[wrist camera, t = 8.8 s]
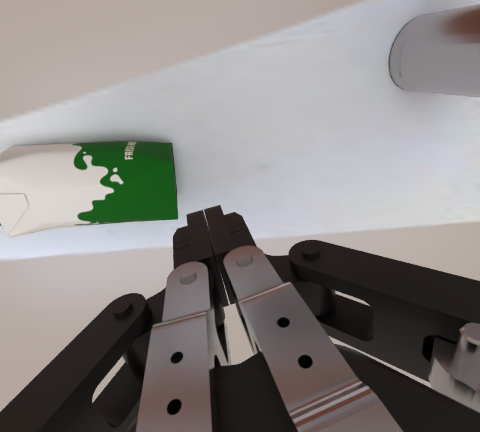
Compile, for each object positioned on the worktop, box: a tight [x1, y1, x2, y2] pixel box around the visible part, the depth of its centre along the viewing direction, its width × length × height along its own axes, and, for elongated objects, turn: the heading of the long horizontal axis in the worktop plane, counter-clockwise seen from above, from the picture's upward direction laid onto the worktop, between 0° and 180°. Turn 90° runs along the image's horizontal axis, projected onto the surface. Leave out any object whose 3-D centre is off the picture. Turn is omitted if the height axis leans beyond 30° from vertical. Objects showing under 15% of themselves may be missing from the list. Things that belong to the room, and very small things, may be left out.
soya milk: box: [0, 142, 178, 238], centre depth 34 cm, size 9×9×20 cm
